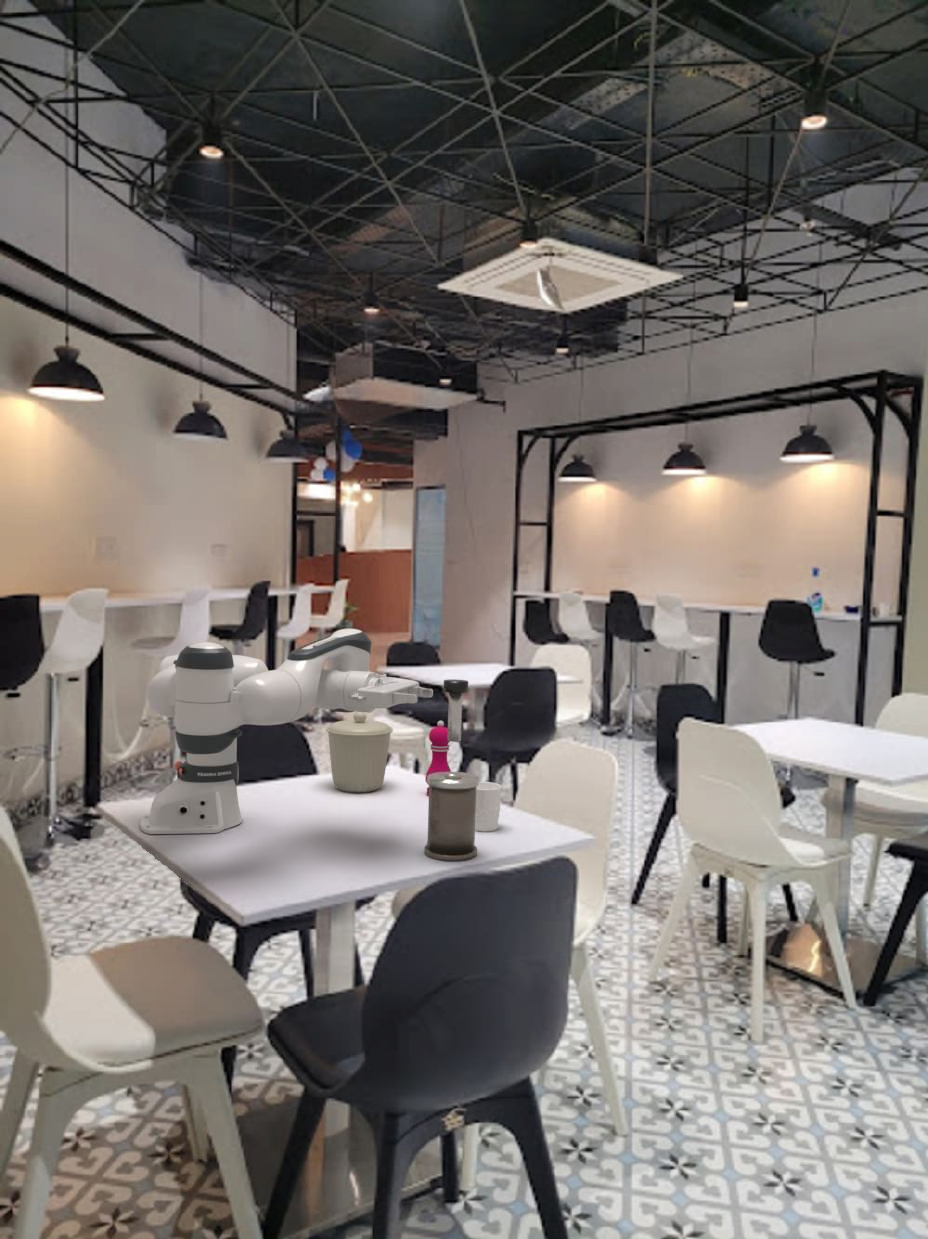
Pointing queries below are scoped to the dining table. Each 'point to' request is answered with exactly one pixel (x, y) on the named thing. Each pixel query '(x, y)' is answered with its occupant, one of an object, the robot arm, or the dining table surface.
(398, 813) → the dining table surface
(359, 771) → the canister
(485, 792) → the white cup
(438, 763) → the pepper mill
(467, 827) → the grey thread spool
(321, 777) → the dining table surface
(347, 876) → the dining table surface
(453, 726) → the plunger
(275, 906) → the dining table surface
